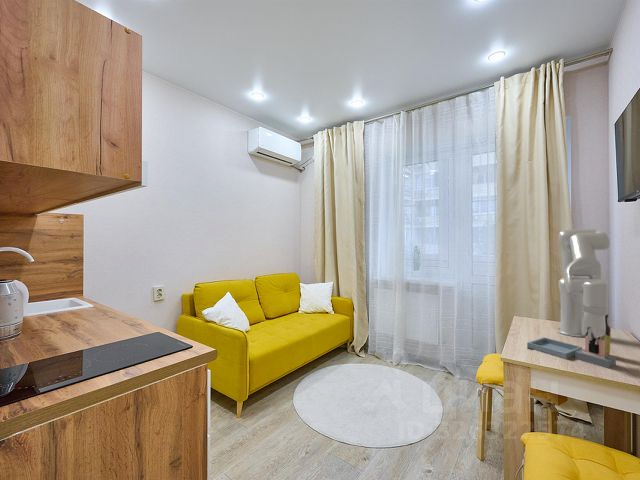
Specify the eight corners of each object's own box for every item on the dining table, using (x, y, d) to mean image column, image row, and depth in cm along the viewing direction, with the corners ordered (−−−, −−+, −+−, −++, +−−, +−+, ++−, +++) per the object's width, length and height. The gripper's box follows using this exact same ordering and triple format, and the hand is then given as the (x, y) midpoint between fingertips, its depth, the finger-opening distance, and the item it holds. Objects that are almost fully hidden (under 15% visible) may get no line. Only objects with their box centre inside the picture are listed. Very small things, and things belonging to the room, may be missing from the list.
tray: (543, 343, 150) (543, 337, 150) (582, 353, 136) (582, 347, 136) (527, 348, 143) (527, 342, 143) (565, 360, 129) (565, 353, 129)
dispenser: (582, 356, 133) (582, 348, 133) (615, 366, 123) (615, 356, 123) (574, 359, 129) (574, 351, 129) (608, 369, 120) (608, 360, 120)
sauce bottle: (587, 353, 137) (587, 310, 136) (599, 352, 137) (599, 310, 137) (602, 359, 130) (602, 314, 130) (614, 358, 131) (614, 314, 130)
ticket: (586, 358, 129) (586, 336, 129) (604, 363, 124) (604, 340, 124) (585, 359, 128) (585, 336, 128) (603, 364, 123) (603, 341, 123)
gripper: (591, 306, 133) (591, 346, 133) (575, 310, 126) (575, 352, 126) (614, 309, 126) (614, 352, 127) (598, 314, 119) (598, 359, 119)
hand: (594, 352), depth 126 cm, fingers closed on ticket, 1 cm apart
